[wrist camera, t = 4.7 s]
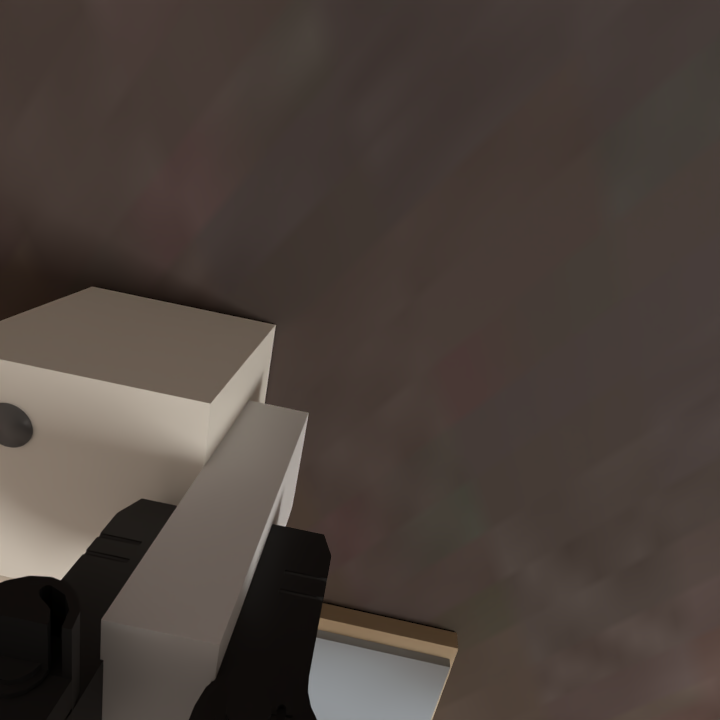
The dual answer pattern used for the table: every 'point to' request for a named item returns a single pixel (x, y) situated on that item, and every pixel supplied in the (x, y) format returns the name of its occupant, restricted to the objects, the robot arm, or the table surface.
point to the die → (111, 414)
